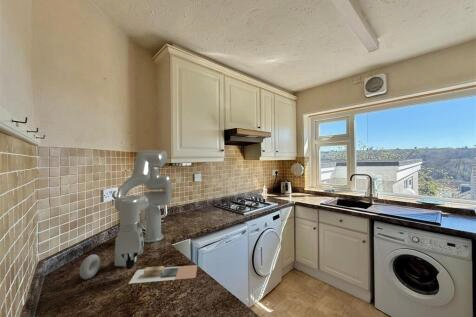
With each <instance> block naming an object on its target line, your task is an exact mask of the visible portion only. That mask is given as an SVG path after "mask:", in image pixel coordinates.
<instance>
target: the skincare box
mask: <svg viewBox="0 0 476 317" xmlns="http://www.w3.org/2000/svg"><path fill="white" fill-rule="evenodd" d="M114 245H115V246H114V266H115V267H125V268H127V267H126V261H125V259H124V258H123V257H122V256H117V251H116V246H117V237H115V244H114ZM137 256H138V255H137ZM137 256H136V257H135V263H136V262H137ZM130 257H131V253H130Z"/></svg>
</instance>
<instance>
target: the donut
mask: <svg viewBox="0 0 476 317" xmlns="http://www.w3.org/2000/svg"><path fill="white" fill-rule="evenodd" d="M100 266H101V259H100V256H99V255H97V254H90V255H88V256H87V257H85V258H84V259H83V261H81V264H80V267H79V276H80V278H81V279H83V280H89V279H91V278H93V277H94V276H95V275H96V274H97V273H98V271H99V268H100Z"/></svg>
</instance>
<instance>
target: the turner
mask: <svg viewBox="0 0 476 317" xmlns="http://www.w3.org/2000/svg"><path fill="white" fill-rule="evenodd" d="M164 268H165V266H164V265H161V266H160V265H159V266H147V267H145V268H144V269H145V270H144V277H153V276H161V278H163V277H175V276H176V275H177V272H178V268H167V269H164Z"/></svg>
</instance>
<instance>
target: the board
mask: <svg viewBox="0 0 476 317" xmlns="http://www.w3.org/2000/svg"><path fill="white" fill-rule="evenodd" d="M167 268H178V272H177V275H176V276H175V277H163V278H161V276H153V277H144V270H145V268H143V269H142V268H141V269H137V270H136V271H135V273H134V275H133V276H132V278H131V279H130V280H129V282H128V285H129V284H139V283H140V284H141V283H151V282H152V283H153V282H162V281H175V280H188V279H195V278H197V271H198V264H193V265H183V266H182V265H181V266H179V265H178V266H169V267H164V269H167Z"/></svg>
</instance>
